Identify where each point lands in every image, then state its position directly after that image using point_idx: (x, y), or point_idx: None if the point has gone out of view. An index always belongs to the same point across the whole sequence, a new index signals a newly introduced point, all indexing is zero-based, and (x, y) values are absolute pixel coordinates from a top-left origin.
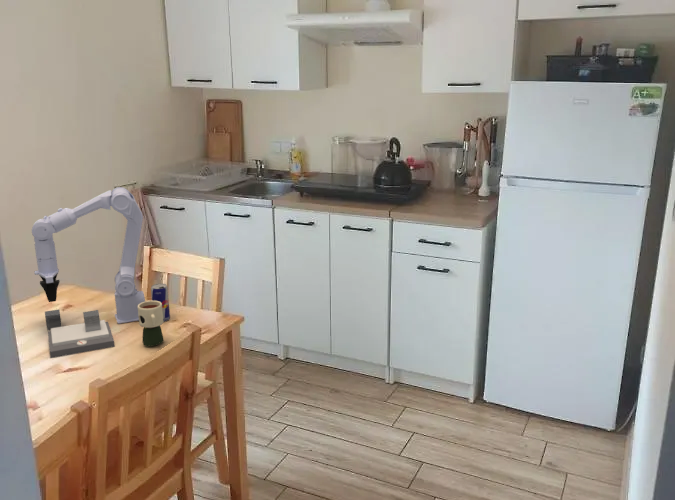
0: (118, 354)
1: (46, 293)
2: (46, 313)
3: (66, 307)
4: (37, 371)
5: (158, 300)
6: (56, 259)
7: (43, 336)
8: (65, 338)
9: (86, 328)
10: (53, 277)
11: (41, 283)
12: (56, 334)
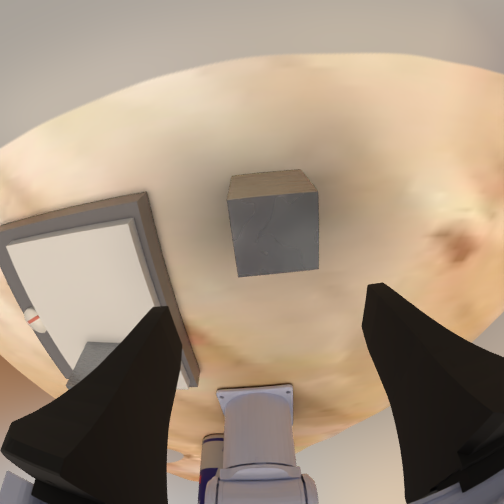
0: (40, 363)
1: (101, 366)
2: (276, 204)
3: (456, 243)
4: None
5: (199, 486)
6: None
7: (160, 167)
8: (38, 284)
9: (84, 353)
10: (410, 448)
11: (2, 451)
12: (65, 253)
